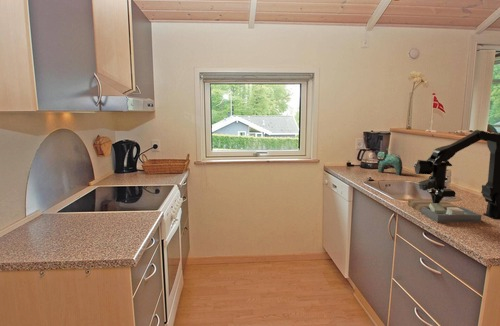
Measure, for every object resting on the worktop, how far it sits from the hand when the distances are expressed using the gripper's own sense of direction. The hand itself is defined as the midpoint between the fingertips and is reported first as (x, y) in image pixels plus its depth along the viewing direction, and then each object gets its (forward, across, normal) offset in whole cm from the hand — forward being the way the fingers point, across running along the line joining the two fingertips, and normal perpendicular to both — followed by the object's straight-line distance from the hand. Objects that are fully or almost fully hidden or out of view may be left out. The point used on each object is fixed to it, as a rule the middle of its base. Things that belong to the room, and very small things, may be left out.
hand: (435, 206), depth 153 cm
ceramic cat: (+5, -102, +25) cm, 106 cm away
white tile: (+2, +4, +7) cm, 9 cm away
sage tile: (+1, +2, -1) cm, 3 cm away
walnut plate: (+4, -8, +4) cm, 10 cm away
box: (+4, +5, +4) cm, 8 cm away
